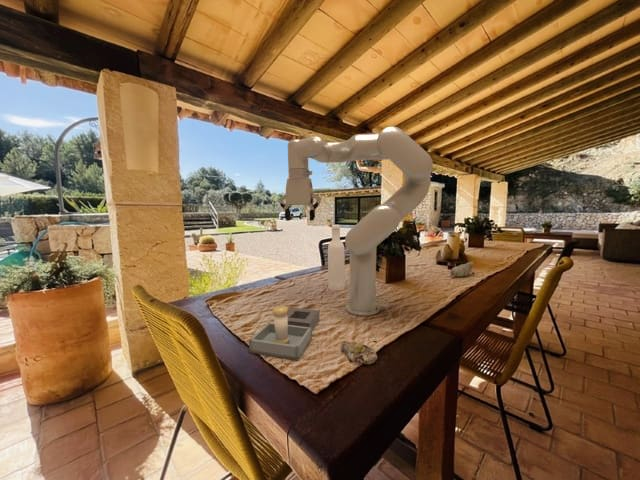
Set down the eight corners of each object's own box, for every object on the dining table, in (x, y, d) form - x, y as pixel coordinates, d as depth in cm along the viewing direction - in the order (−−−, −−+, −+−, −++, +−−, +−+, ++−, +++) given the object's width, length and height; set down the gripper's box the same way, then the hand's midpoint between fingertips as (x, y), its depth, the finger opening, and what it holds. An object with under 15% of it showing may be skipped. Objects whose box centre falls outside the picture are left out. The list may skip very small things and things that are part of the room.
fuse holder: (319, 320, 88) (319, 310, 87) (309, 334, 78) (309, 323, 78) (292, 317, 91) (291, 307, 90) (279, 330, 81) (279, 319, 81)
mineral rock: (385, 347, 66) (368, 352, 61) (383, 365, 66) (366, 371, 60) (352, 335, 74) (334, 338, 68) (350, 350, 73) (331, 354, 68)
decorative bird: (446, 277, 137) (447, 263, 136) (467, 273, 143) (468, 260, 142) (455, 280, 132) (456, 265, 131) (476, 276, 138) (477, 262, 137)
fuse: (291, 339, 73) (290, 306, 72) (285, 347, 70) (283, 311, 68) (279, 338, 75) (277, 305, 73) (272, 345, 71) (270, 310, 70)
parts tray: (312, 338, 75) (311, 327, 75) (298, 360, 65) (297, 347, 64) (268, 333, 79) (268, 322, 79) (249, 352, 69) (248, 340, 68)
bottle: (324, 289, 120) (323, 225, 116) (333, 284, 127) (332, 224, 123) (340, 292, 116) (339, 225, 112) (347, 287, 123) (347, 224, 119)
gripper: (323, 174, 98) (324, 219, 100) (281, 177, 103) (283, 220, 105) (317, 172, 91) (318, 221, 93) (273, 175, 96) (275, 221, 98)
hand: (299, 220), depth 99 cm, fingers open, 9 cm apart
